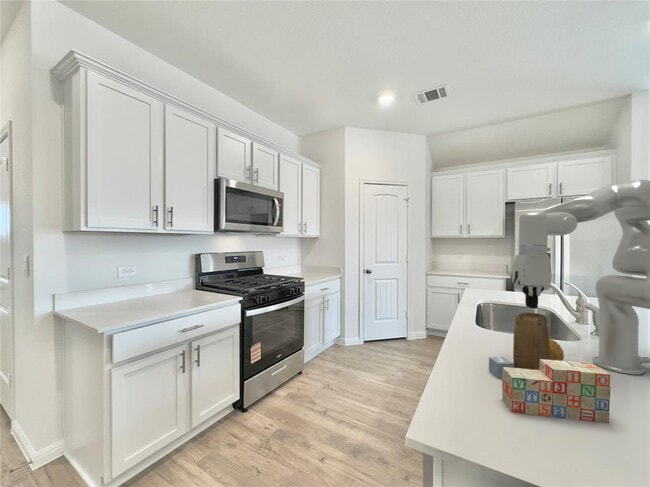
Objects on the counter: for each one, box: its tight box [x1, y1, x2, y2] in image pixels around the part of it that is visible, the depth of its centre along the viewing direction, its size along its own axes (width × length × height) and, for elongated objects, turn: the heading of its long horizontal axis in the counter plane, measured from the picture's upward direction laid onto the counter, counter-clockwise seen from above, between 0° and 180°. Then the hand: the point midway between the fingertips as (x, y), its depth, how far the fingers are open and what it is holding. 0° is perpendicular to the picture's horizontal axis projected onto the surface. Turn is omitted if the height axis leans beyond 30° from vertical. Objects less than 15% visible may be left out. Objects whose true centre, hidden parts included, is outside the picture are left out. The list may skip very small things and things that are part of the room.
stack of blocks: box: [501, 359, 611, 424], centre depth 74 cm, size 21×6×12 cm, turn 78°
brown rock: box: [512, 311, 550, 370], centre depth 93 cm, size 11×8×20 cm
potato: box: [549, 337, 565, 361], centre depth 104 cm, size 10×13×9 cm
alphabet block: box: [488, 356, 514, 380], centre depth 94 cm, size 5×5×5 cm
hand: (531, 307), depth 93 cm, fingers closed
